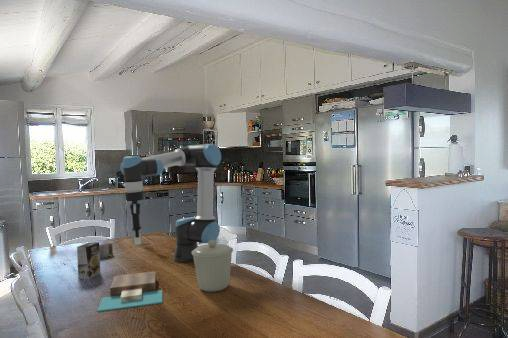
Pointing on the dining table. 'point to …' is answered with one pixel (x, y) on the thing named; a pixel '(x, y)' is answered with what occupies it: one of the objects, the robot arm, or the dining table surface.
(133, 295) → the birch tile
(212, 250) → the canister
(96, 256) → the coffee box
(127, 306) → the teal mat
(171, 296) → the dining table surface
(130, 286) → the walnut board
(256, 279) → the dining table surface
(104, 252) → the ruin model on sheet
